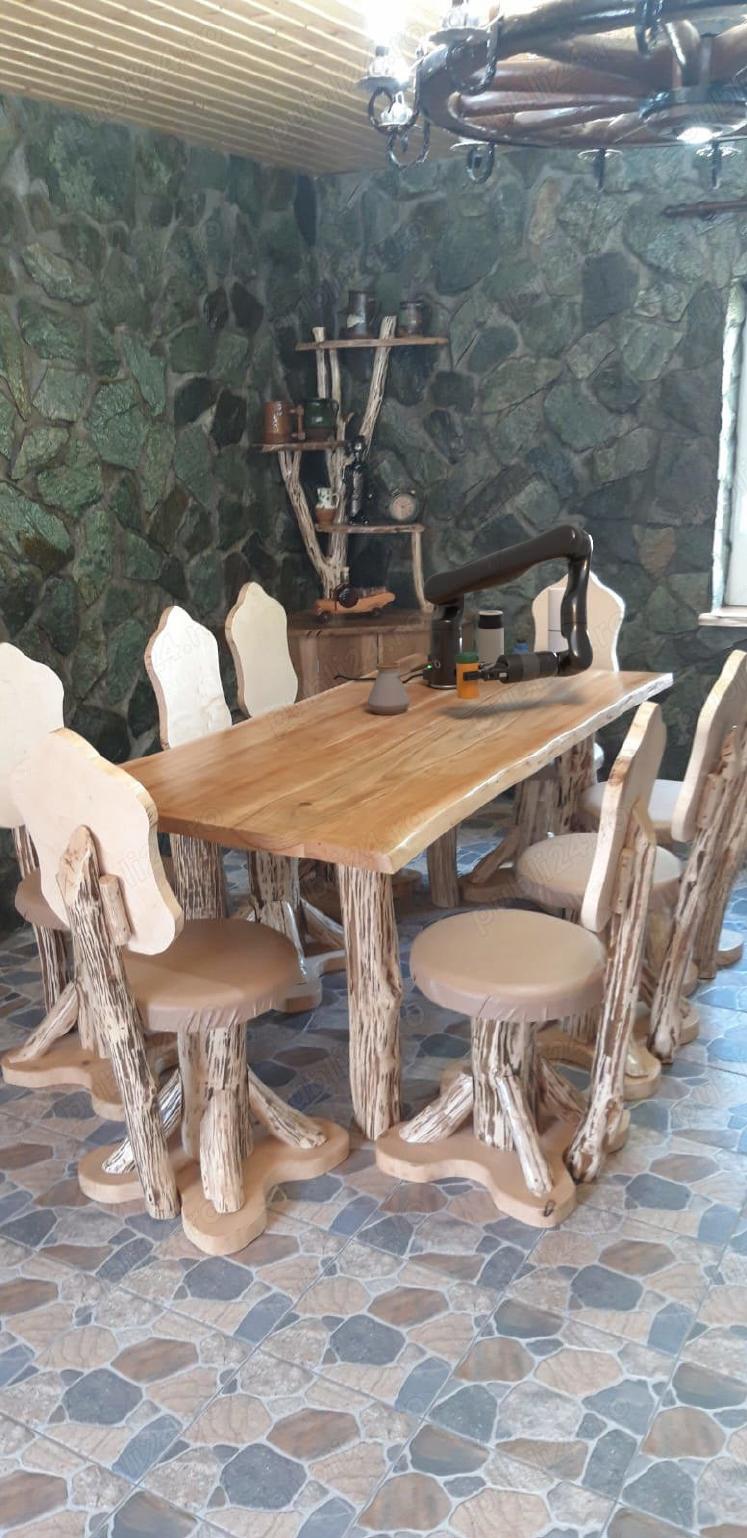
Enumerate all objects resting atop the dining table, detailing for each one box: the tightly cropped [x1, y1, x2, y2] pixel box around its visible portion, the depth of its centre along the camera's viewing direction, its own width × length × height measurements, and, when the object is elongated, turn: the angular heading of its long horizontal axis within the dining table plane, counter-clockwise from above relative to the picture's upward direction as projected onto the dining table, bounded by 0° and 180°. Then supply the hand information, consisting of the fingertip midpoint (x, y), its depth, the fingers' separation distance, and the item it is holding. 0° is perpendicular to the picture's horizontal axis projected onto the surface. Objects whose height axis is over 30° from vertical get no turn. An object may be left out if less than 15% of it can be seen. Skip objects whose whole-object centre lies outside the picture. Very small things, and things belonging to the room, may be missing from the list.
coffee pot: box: [367, 660, 440, 716], centre depth 310 cm, size 21×12×15 cm, turn 57°
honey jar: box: [456, 662, 480, 700], centre depth 299 cm, size 6×6×11 cm
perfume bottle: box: [512, 637, 531, 653], centre depth 353 cm, size 6×6×12 cm
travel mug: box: [477, 610, 505, 663], centre depth 368 cm, size 8×8×18 cm
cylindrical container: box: [547, 587, 568, 652], centre depth 363 cm, size 7×7×25 cm
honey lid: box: [455, 651, 479, 663], centre depth 297 cm, size 6×6×2 cm
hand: (458, 674), depth 298 cm, fingers closed on honey jar, 5 cm apart
